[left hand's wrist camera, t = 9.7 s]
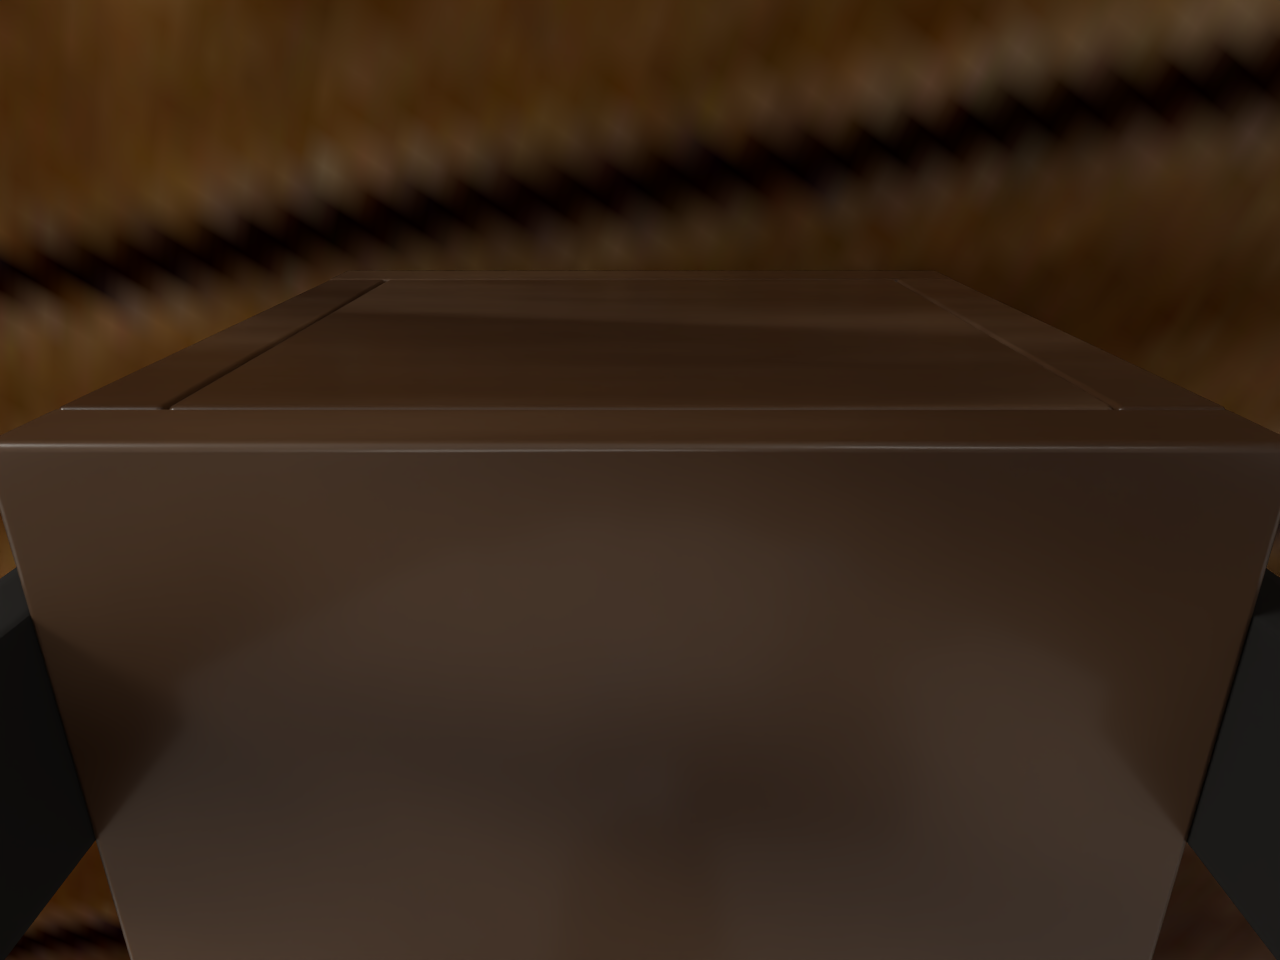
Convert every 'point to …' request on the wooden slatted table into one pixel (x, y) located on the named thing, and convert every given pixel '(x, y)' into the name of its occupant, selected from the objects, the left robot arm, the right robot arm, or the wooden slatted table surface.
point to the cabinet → (641, 622)
